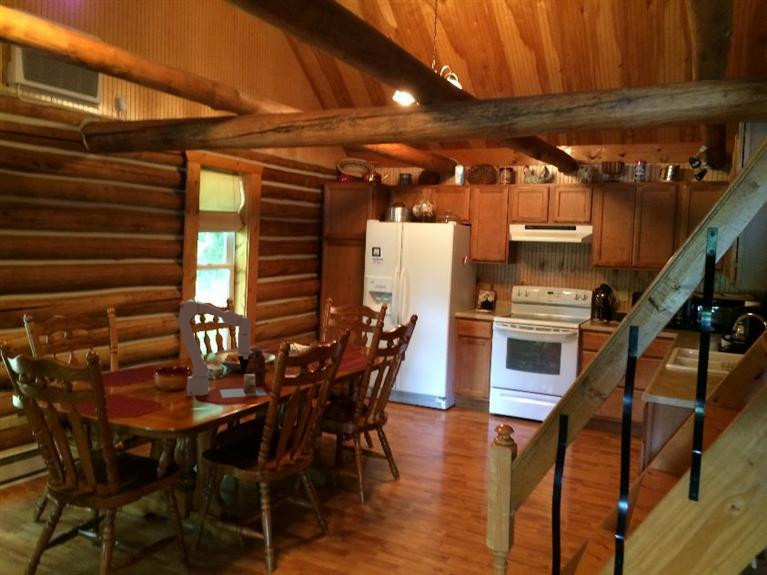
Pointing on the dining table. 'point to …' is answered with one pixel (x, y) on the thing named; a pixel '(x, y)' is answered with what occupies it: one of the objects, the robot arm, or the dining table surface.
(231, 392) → the mat
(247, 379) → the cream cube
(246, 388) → the walnut base block
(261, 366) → the wooden figurine
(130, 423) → the dining table surface
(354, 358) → the dining table surface
